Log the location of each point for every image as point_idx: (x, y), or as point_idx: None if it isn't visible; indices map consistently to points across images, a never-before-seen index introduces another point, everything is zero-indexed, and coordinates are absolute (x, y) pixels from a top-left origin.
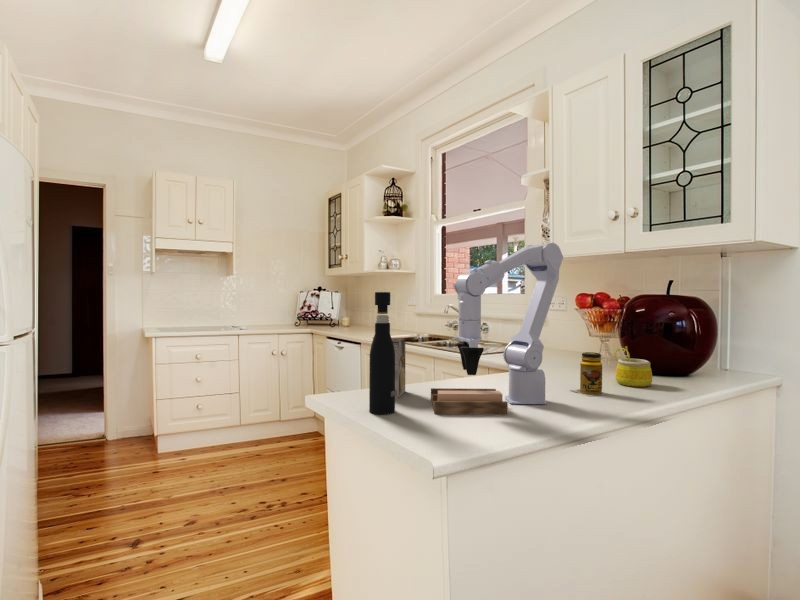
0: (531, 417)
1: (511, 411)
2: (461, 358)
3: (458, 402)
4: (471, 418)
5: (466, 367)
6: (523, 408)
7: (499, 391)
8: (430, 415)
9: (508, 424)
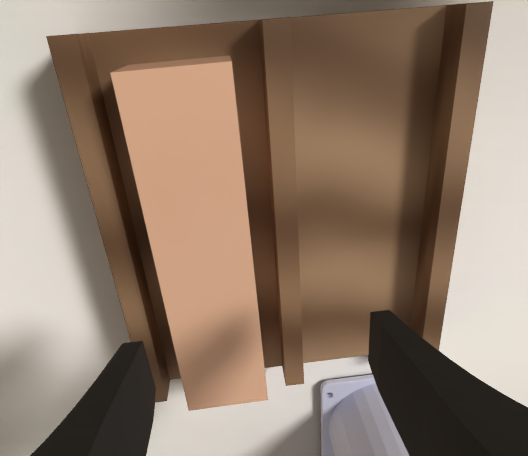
0: None
1: None
2: (421, 368)
3: (92, 194)
4: (47, 230)
5: (92, 385)
6: (265, 411)
7: (251, 400)
8: (36, 8)
9: (2, 359)
